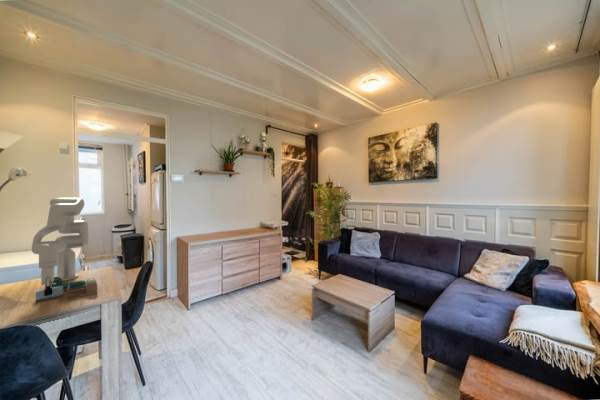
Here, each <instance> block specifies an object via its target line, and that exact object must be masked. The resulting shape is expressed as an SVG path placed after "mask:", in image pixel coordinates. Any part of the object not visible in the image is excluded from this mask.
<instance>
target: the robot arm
mask: <svg viewBox="0 0 600 400" xmlns="http://www.w3.org/2000/svg"><path fill="white" fill-rule="evenodd" d="M49 205H50V206H49V211H48V215H47V216H48V217H47V222H46V225H45V226H44V227H42V228H40V230H38V231H37V232H36V233H35V235H34V237H33V239H32V242H31V243H32V244H31V252H32V253H33V254H34V255H38V269H41V270H40V279H41V280H40V285H41V286H44V288H43V289H44V296H48V295H52V283H53V281H54V277H55V268H56V277H60V278H61V279H62V282H64V281H65V282H66V281H70V280H73V279H76V278H78V277H79V274H78V273H76V252H75V251H74V250H73V249H78V248H79V249H80V248H85V247H87V246H88V245H89V224H88V222H87V220H80V219H79V220H75V216H79V215H80V214H81V212H82V210H83V209H84V208H85V200H84V199H83V198H81V197H55V198H51V199H50V201H49ZM57 231H58V233H59V234H62V235H61V236H58V237H56V238H55V240H50V241H49V240H47V241H42V240H43V239H44V238H45V236H47V235H49V234H51V233H54V232H57ZM67 234H69V235H67ZM71 234H72V235H71ZM53 284H54V283H53Z"/></svg>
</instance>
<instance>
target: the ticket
mask: <svg viewBox="0 0 600 400" xmlns="http://www.w3.org/2000/svg"><path fill="white" fill-rule="evenodd" d="M44 289H45V288H43V289H37V290H35V301H38V300H40V299H45V298H49V297H54V296H58V297H59V296H63V295H64V290H63V286H58V287H52V295H48V296H44Z"/></svg>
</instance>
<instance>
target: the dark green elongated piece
mask: <svg viewBox="0 0 600 400" xmlns="http://www.w3.org/2000/svg"><path fill="white" fill-rule="evenodd" d="M85 282H86V280H83V279H82V280H77V281H71V282H66V283H63V281H62V279H61V278H60V277H57V276H54V281H53V283H52V287H58V286H63V291H65V290H68V285H70V288H75V287H79V286H84V285H85Z"/></svg>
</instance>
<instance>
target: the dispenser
mask: <svg viewBox="0 0 600 400" xmlns="http://www.w3.org/2000/svg"><path fill="white" fill-rule="evenodd" d="M95 294H98V283H97V280H96V278H94V277H89V278H87V279H86V280H85V285H83V286H79V287H75V288H70V285H68V289H67V299H68V300H70V299H73V298H74V297H75V298H79V297H82V296H83V295H84V296H91V295H95Z"/></svg>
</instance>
